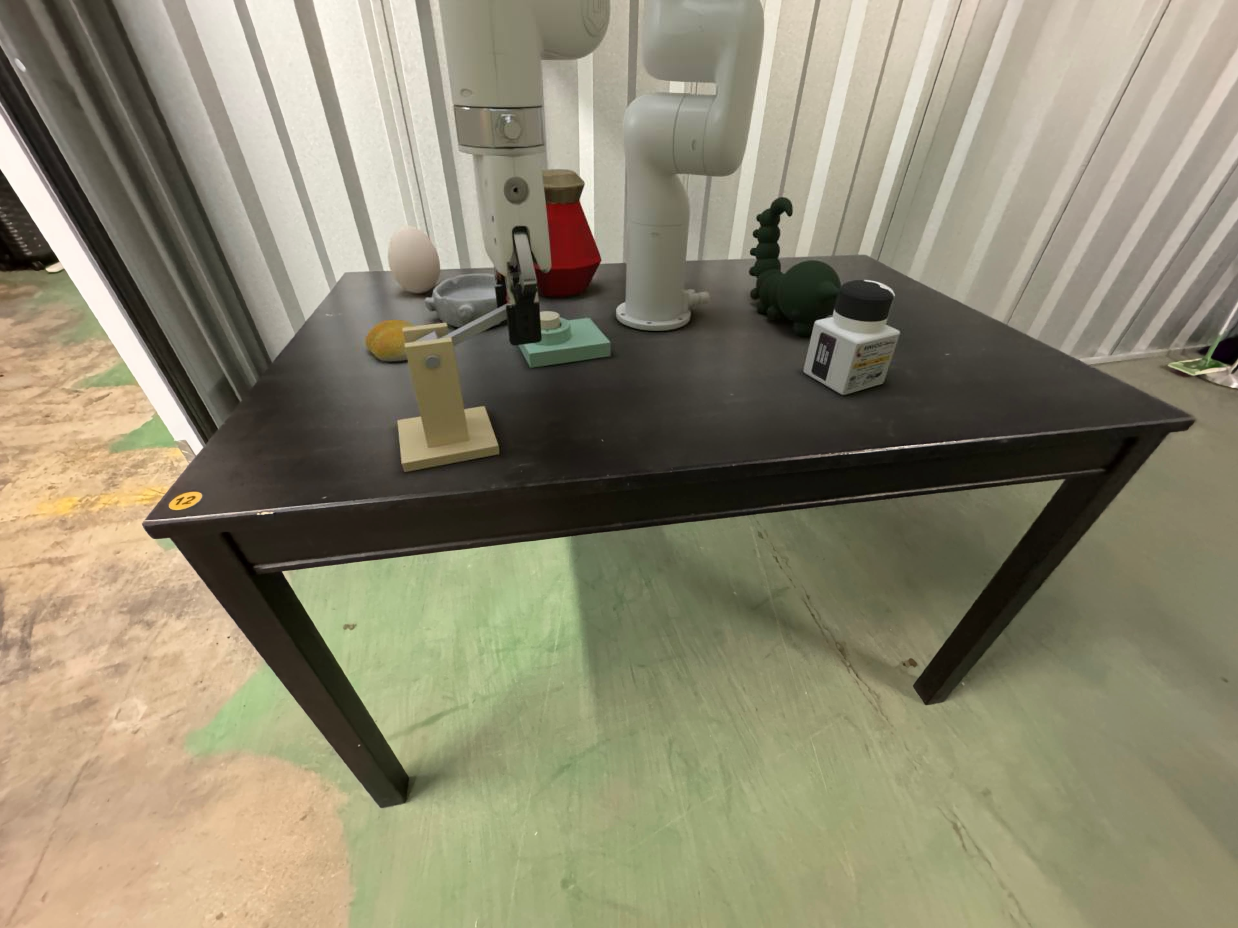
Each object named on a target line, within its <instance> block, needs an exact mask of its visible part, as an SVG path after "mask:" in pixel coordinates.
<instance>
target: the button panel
mask: <svg viewBox="0 0 1238 928" xmlns="http://www.w3.org/2000/svg"><path fill="white" fill-rule="evenodd" d="M559 318H560V327H559V328H557V329H554V330H541V335H542V340H541V341H540V342H538V343H530V344H523V345H517V346H518V347H519V350H520V351H521V353H522V355H523V357H524V359H525V361H526V362H527V364H528V366H529V368H531V369H532V368H540V367H546V366H553V365H558V364H566V363H573V362H580V361H587V360H594V359H600V358H606V357H607V358H608V357H611V349H612V348H611V341H610V340H609V338H607V336H606V335H605V334H604V333H603V332H602V330H600V329H599V327H598V326H597V325H596V324H595V323H594V322H593V320H592V319H591V318H590V317H584V318H576V319H566V318H563V317H560V316H559Z"/></svg>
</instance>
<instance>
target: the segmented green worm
mask: <svg viewBox="0 0 1238 928" xmlns="http://www.w3.org/2000/svg"><path fill="white" fill-rule="evenodd" d="M793 212H794V207H793V203H792V201H791V199H789V198H788V197H786V196H785V197H784V196H780V197H777V198H775V199H774V200H773V201H772V202H771V203H770V206H769V208H766V209H764V210H763V211H762V212H761V213H758V214H757V215H756V216H755V220H756V222H758V223H759V227H758V228H755V229H754V230H753V231H752V234H751V235H752V237H753V238H755V239H757V242H758V243H757V245H756V246H755V247H751V248H750V250H749V255H750V256H752V257H755V259H756V261H755V262H754V265H753V266H751V267H750V268H749V270H748V274H749V276H751V277H755V278H756V280H755V287H753V288H752V289H751V290H750V293H749V295H750V298H751V299H752V300H756V301H757V300H760V301H759V302H757V305H756V309H757V312H759V313H761V314H765V313H766V314H767V318H768V319H770V320H772V321H778V320H779V319H781V318H783V316H784V317H786V318H788V319H789V320H791V321H792V322H793V326H792V327H793V331H794V333H795V334H796V335H797V336H801V337H807V336H812V331H813V327H814V323H815V321H817V320H821V319H825V318H829V316H833V312H834V308H835V304H836V301H837V297H838V293H839V289H840V287H841V286H842V283H841V279H840V277H839V275H838V273H837V271H836V270H835V269H834V268H833V267H832V266H831V265H830V264H828V263H826V262H824V261H821V260H816V259H810V260H809V259H808V260H806V261H805V260H804V261H800V262H798V263H797V264H794V265H793V266H791V267H790V268H788V270H787V271H786V272H785V273H783V272H782V264H781V260H780V259H779V257H780V254H781V247H780V245H779V243H778V241H780V237H781V229H780V227H779V225H780V223H781V215H782V214H784V213H785V214H786V216H787V217H789V218H790V217H792V216H793Z"/></svg>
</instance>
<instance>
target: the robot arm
mask: <svg viewBox="0 0 1238 928" xmlns="http://www.w3.org/2000/svg"><path fill="white" fill-rule="evenodd" d="M438 7H439V14H440V22H441V29H442V30H441V31H442V36H443V37H442V38H443V44H444V52H445V53H444V54H445V60H446V66H447V73H448V81H449V87H450V94H451V102H452V111H453V119H454V126H455V133H456V134H455V135H456V141H457V146H458V147H457V149H458V151H459V153H463V154H467V155H472V164H473V173H474V174H473V175H474V183H475V192H476V199H477V207H478V215H479V222H480V228H481V235H482V240H483V241H482V242H483V246H484V249H485V252H486V255H487V257H488V259H489V260H490V261H491V263H492V265H493V275H494V276H495V282H496V285H501V286H495V294H496V303H497V309H498V308H500V307H502V306H503V305H505V304H507V303H508V302H509V305H506V314H507V319H506V320H504V321H502V322H500V323H501V324H500V325H507V331H508V340H509V343H510V344H511V346H518V345H523V344H530V343H538V342H540V341H541V340H542V335H541V321H540V312H541V308H540V299H539V298H540V297H539V294H538V290H537V279H536V274H535V267H534V263H535V264H536V265H537V266H538V268H539V269H540V270H542V272H544V273H548V272H549V271H550V269H551V254H550V243H549V232H548V222H547V211H546V202H545V193H544V185H543V178H542V172H541V170H542V166H541V160H540V155H539V154H542V153H544V152H546V151H547V146H546V145H547V144H546V128H545V125H546V124H545V109H544V108H545V106H544V92H543V73H542V70H543V69H542V61H574V60H578V59H579V60H580V59H583V58H585V57H587V56H589V55H590V54H592V53H593V52H595V50H597V48H598V47H600V45H601V43H602V42H603V40H604V38H605V36H606V34H607V32H608V29H609V24H610V20H611V19H610V18H611V0H438ZM642 13H643V14H642V25H641V40H640V53H641V54H640V55H641V56H640V57H641V62H642V67H643V69H644V70H645V72H646V74H647V75H648V76H650V77H651V78H654V79H656V80H660V81H666V82H675V83H676V82H680V83H701V84H702V83H703V84H715V85H716V86H717V94H702V93H701V94H699V93H698V94H697V93H688V92H668V91H667V92H665V91H664V92H660V91H659V92H650V93H645V94H642V95H640V96H638V97H636V98H634V99H633V100H632V101H631V102H630V103H629V105H628V106H627V108H626V110H625V112H624V115H623V119H622V126H621V127H622V128H621V129H622V131H621V134H622V136H621V137H622V144H623V146H622V147H623V153H624V160H625V168H626V180H627V181H626V183H627V215H626V216H627V217H626V226H627V227H626V258H625V259H626V262H625V298H624V299H625V300H624V302H621V304H619V305H618V306H616V309H615V317H616V319H617V321H618V322H620V323H621V324H622V325H624V326H626V327H629V328H632V329H636V330H641V331H647V332H649V331H651V332H662V331H671V330H676V329H679V328H682V327H685V326H686V325H687V324H688V323H689V322H690V321H691V315H692V314H691V313H692V312H691V310H690V309H689V308H691V307H693V305H703V304H708V303H709V301H710V294H709V292H708V291H699V292H696V290H695V289H694V288H692V289H685V288H684V287H685V275H686V266H687V255H688V254H687V253H688V243H689V242H688V241H689V232H690V231H689V230H690V220H691V219H690V218H691V202H690V198H689V194H688V192H687V190H686V188H685V185H684V184H683V182H682V180H681V178H680V177H679V176H680V175H691V176H693V175H694V176H703V177H728V176H731V175H733V174H735V172H737V171H738V169H739V168H740V166H741V165H742V163H743V160H744V157H745V154H746V150H747V146H748V140H749V134H750V129H751V122H752V116H753V111H754V105H755V98H756V93H757V86H758V82H759V81H758V80H759V74H760V68H761V62H762V56H763V49H764V48H763V47H764V39H765V15H764V9H763V4H762V3H761V0H644V2H643V12H642ZM506 295H507V296H508V302H507V301H506Z"/></svg>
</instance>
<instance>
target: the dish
mask: <svg viewBox="0 0 1238 928" xmlns="http://www.w3.org/2000/svg"><path fill="white" fill-rule="evenodd" d="M495 286H501V285H496V282H495V276H494V273H468V274H459V275H457V276H455V277H450V278H447V279H445V280H443V281H441V282H440V283H439V284H438V285H437V286H435V288H434V289H433V290H432V295H431V297H425V298H424V304H425V308H426V309H427V310H429V312H436V315H437V317H438V318H439V320H440V321H441V322H442V323H447V325H449V326H453V327H455V328H456V327H457V328H461V327H463V326H465V325H466V324H468V323H470V322H472V321H474V320H476V319H478V318H480V317H482V316H484V315H486V314H488V313H490V312H492V311H494V310H496V309H497V303H496V294H495ZM499 325H502V324H501V323H498V324H496V325H494V326H493V327H495V326H499Z"/></svg>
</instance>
